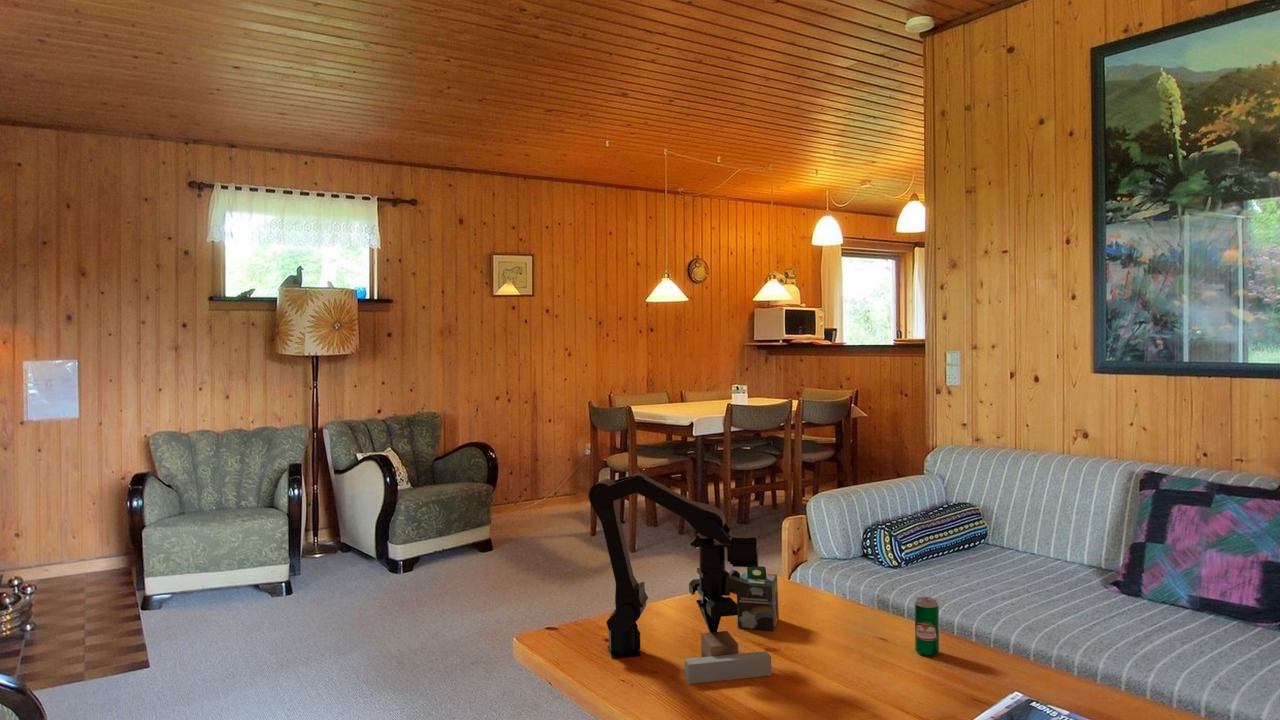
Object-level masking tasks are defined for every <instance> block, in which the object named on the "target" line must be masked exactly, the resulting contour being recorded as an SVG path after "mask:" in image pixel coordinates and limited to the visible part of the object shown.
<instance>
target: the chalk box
mask: <svg viewBox="0 0 1280 720" xmlns="http://www.w3.org/2000/svg"><path fill="white" fill-rule="evenodd" d="M746 571H747V572H743V573H742V574H740V578H743V579H745V580H747V581H748V582H749V583H750V584H751V587H750V590H749V593H748V596H747V598H744V597H742V596H740V595H737V594H736V604H737V605H738V606H739V614H738V615H736V616H737V628H738V629H739V628H740V629H750V630H751V629H752V630H760V631H767V632H768V631H769V632H774V631H775V628H776V626H777V624H778V621H779V618H780V615H779V592H778V590H779V587H778V586H779V585H778V584H779V583H778V574H777V573H775V574H774V573H767V568H766V566H761V565H758V568H756V567H746ZM754 571H758V572H756V573H755V572H754ZM759 572H760V573H759Z"/></svg>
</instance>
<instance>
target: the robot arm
mask: <svg viewBox="0 0 1280 720" xmlns="http://www.w3.org/2000/svg"><path fill="white" fill-rule="evenodd" d="M634 494H639V495H640V496H642V497H644V498H646V499H648V500H650V501H651V502H653V503H655V504H657V505H659V506H661V507H662V508H664V509H667V510H668V511H670V512H671V513H674V514H675V515H676V516H679V517H681V518H682V519H683V520H684V521H686V522H687V524H689V526H691V527H692V529H694V530H695V531H696V532H698V533H697V534H696V536H695V537H694V538H693V539H691V541H690V546H691V547H698V555H699V559H698V560H699V562H698V563H699V565H698V566H699V567H696V573H697V574H698V575H699V578H696V579H695V578H694V579H692V580H691V581H690V582H689V583H688V591H689V593H690V595H692V596H694V595H696V592H697V594H698V595H699V599H697V600H696V601H695V602H696V604H697V606H698V609H699V611H700V614H701V616H702V618H703V619H704V622H705V625H706V628H707V629H708V633H709V632H718V629H719V625H720V622H721V618H722V617H723V618H724V617H733V616H737V615H738V614H739V606H738V605H737V602H736V601H734V599H732V598H731V597H730V596H731V594H734V595H736V596H737V595H740V596H742V597H744V598H747V596H748V593H749V590H750V587H751V584H750V583H749V582H748V581H747V580H745V579H743V578H740V576H741V573H740V572H739V571H738V570H736V569H731V570H730V571H729V572H728V571H727V570H726V559H727V563H729V565H732V567H734V568H747V567H756V568H758V566H759V562H760V561H759V560H760V559H759V556H760V555H759V554H760V553H759V552H760V549H759V545H758V544H759V543H758V535H735V533H734V531H733V530H732V529H731V528H730V526H729V524H728V523H727V522H726V516H725V513H724V511H722V509H720V508H718V507H716V506H713V505H710V504H706V503H705V502H698V501H694V500H692V499H690V498H688V497H686V496H684V495H682V494H680V493H679V492H676V491H674V490H672V489H671V488H669V487H667V486H665V485H663V484H662V483H660V482H659V481H658V482H657V481H656V480H655V479H653V478H651V477H649V476H648V475H646V474H645V473H643V472H637V473H635V474H634V475H630V476H625V477H621V478H617V479H610V478H604V479H601V480H599V481H598V482H596V483H595V484H594V485H593V486H591V487H590V490H589V491H588V499H589V503H590V505H591V507H592V510H593V513H594V514H595V515H596V517H597V519H598V520H599V521H600V523H601V527H602V531H603V534H604V535H603V536H604V538H605V539H604V540H605V543H606V547H607V551H608V556H609V560H610V564H611V569H612V573H613V577H614V581H615V590H614V591H615V595H614V600H615V602H614V603H615V608H614V610H613V612H612V613H611V614H610V616H609V617H608V619H607V620H606V626H607V629H608V645H607V650H608V652H609V655H610V658H612V659H615V658H617V659H618V658H626V657H634V656H635V657H636V656H637V657H639V656H640V655H641V652H640V650H641V632H640V630H639V627H638V624H637V621H638V620H639V619H640V618H641V616H642V614H643V612H644V611H645V609H646V607H647V601H648V599H649V596H648V595H647V593H646V588H645V586H646V585H645V581H641V582H638V580H637V579H636V577H635V575H634V572H633V567H632V564H631V558H630V555H629V550H628V546H627V541H626V537H625V534H624V530H623V525H622V521H621V517H620V516H621V499H622V498H625V497H629V496H631V495H634ZM726 548H727V549H726ZM726 554H727V555H726ZM726 556H727V557H726Z"/></svg>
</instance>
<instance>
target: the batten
mask: <svg viewBox="0 0 1280 720" xmlns="http://www.w3.org/2000/svg"><path fill="white" fill-rule="evenodd" d="M768 676H772V656H771V655H770V654H769V653H768V651H767V650H766V651H765V650H764V651H753V652H744V653H738V654H731V655H721V656H711V657H695V658H694V657H692V658H685V659H684V678H685V681H686V683H688V685H693V684H702V683H711V682H720V681H721V682H722V681H729V680H730V681H731V680H742V679H749V678H758V677H768Z"/></svg>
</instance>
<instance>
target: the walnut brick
mask: <svg viewBox="0 0 1280 720" xmlns="http://www.w3.org/2000/svg"><path fill="white" fill-rule="evenodd" d="M700 648H701V649H700V651H701V652H700V654H701V655H700V656H701V657H711V656H721V655H731V654H739V643H738V642H737V641H736V640H735V638H734V636H732V635H731V634H730V633H729V630H722V631H721V630H720V631H717V632H709V631H708V632H701V633H700ZM701 657H700V658H701Z"/></svg>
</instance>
